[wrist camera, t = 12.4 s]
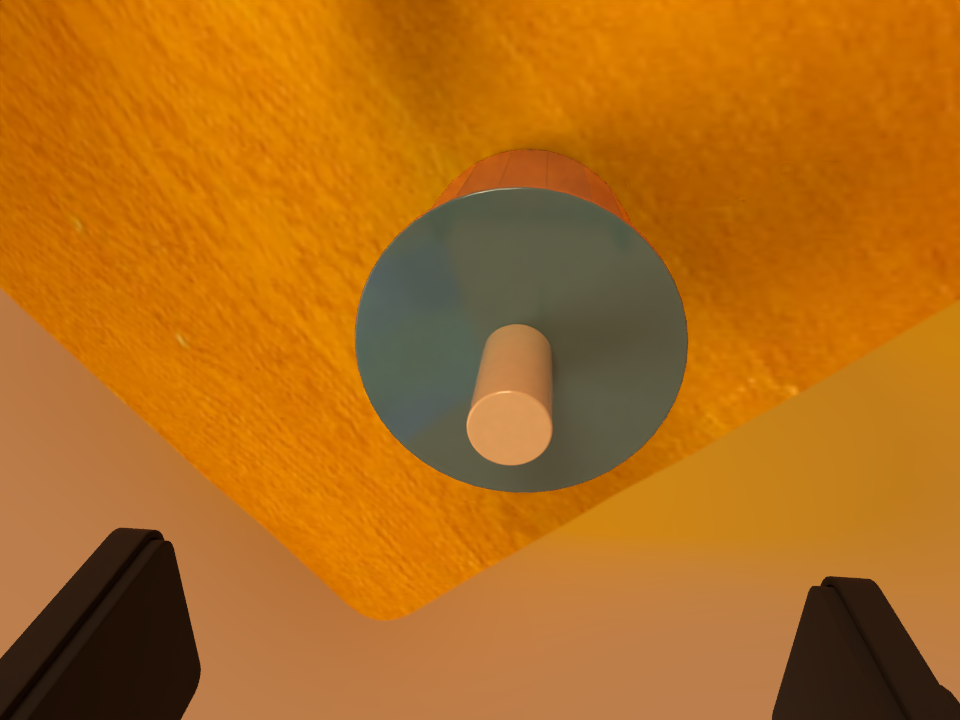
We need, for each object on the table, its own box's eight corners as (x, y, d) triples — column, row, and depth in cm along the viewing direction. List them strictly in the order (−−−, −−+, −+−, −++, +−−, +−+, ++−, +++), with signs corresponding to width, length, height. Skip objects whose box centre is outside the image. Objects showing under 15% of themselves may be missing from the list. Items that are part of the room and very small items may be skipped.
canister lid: (351, 176, 22) (284, 219, 17) (703, 183, 21) (758, 230, 16) (372, 467, 27) (326, 576, 21) (662, 483, 26) (692, 601, 20)
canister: (422, 147, 32) (360, 192, 22) (642, 151, 31) (687, 199, 21) (428, 346, 37) (379, 463, 26) (622, 354, 36) (651, 478, 25)
